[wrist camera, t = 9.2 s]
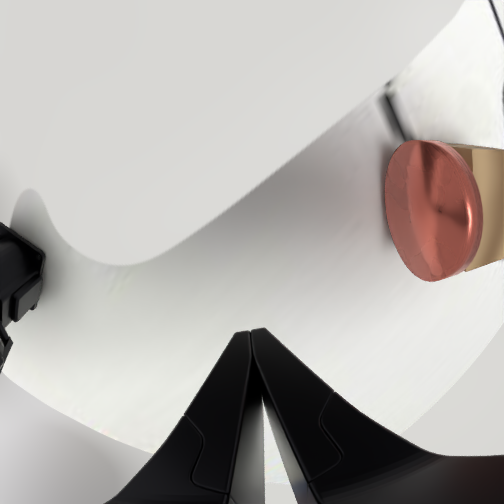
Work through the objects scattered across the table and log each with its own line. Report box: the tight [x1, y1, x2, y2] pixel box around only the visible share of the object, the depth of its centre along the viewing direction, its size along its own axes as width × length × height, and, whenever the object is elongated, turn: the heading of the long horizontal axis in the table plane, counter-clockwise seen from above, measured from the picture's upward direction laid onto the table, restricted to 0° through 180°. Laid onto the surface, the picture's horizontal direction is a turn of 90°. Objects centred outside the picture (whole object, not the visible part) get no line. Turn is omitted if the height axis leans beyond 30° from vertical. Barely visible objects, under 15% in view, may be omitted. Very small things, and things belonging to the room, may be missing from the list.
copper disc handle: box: [385, 140, 483, 282], centre depth 16 cm, size 11×9×9 cm
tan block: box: [447, 144, 504, 272], centre depth 17 cm, size 6×8×7 cm
